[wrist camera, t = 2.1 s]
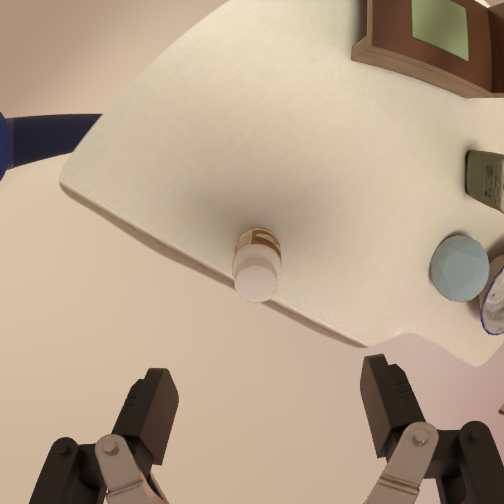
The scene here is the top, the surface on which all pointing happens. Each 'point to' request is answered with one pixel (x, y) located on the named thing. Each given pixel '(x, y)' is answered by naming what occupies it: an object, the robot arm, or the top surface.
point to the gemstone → (460, 268)
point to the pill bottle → (257, 265)
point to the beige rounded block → (485, 178)
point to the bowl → (493, 298)
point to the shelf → (438, 43)
